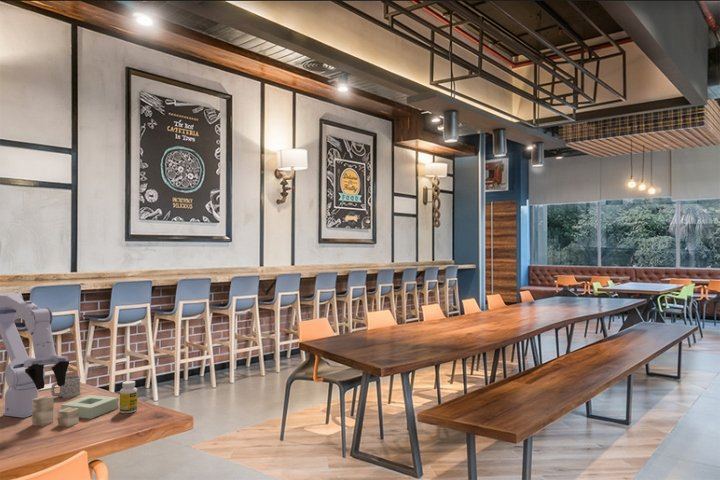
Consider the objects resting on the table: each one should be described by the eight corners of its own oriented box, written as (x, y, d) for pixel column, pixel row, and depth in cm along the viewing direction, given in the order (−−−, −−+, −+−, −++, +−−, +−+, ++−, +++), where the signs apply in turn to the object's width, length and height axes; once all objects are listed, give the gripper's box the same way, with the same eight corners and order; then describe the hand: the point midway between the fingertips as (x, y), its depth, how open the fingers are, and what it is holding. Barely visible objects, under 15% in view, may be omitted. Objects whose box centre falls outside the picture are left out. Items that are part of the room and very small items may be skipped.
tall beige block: (32, 425, 166) (32, 399, 166) (43, 421, 170) (43, 395, 170) (42, 426, 165) (42, 400, 165) (53, 422, 168) (53, 396, 168)
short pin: (58, 425, 165) (58, 411, 165) (68, 421, 169) (68, 407, 169) (68, 426, 164) (68, 412, 164) (78, 422, 168) (78, 408, 168)
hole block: (61, 415, 175) (61, 404, 175) (89, 404, 186) (89, 394, 186) (91, 418, 171) (91, 407, 172) (118, 407, 183) (118, 397, 183)
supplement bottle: (130, 414, 176) (130, 384, 176) (116, 413, 177) (116, 383, 177) (140, 409, 181) (140, 380, 181) (126, 408, 182) (126, 379, 183)
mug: (74, 391, 203) (74, 374, 203) (83, 394, 199) (83, 376, 199) (46, 398, 195) (46, 379, 195) (55, 401, 191) (55, 382, 191)
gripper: (32, 342, 162) (41, 386, 159) (71, 340, 176) (80, 380, 173) (15, 349, 164) (23, 393, 161) (55, 346, 178) (63, 387, 175)
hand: (51, 387), depth 167 cm, fingers open, 7 cm apart
